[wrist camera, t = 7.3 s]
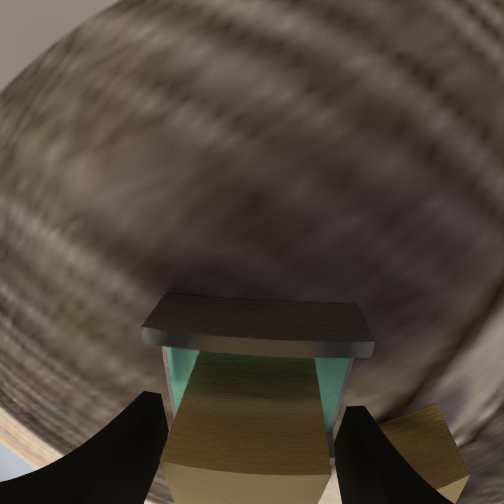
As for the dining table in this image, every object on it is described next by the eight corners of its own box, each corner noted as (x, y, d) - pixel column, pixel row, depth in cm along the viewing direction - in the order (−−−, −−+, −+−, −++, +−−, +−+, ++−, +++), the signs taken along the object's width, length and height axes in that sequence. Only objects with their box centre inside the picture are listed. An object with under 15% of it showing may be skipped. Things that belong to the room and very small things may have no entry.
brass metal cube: (429, 442, 13) (453, 505, 9) (367, 464, 14) (380, 532, 9) (435, 402, 12) (470, 474, 7) (362, 427, 13) (381, 509, 8)
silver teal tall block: (294, 515, 16) (294, 542, 14) (200, 509, 17) (195, 534, 14) (356, 304, 11) (375, 341, 8) (165, 292, 11) (140, 327, 9)
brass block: (299, 427, 12) (304, 528, 7) (206, 420, 12) (181, 518, 7) (314, 355, 10) (331, 474, 6) (200, 348, 11) (159, 461, 6)
